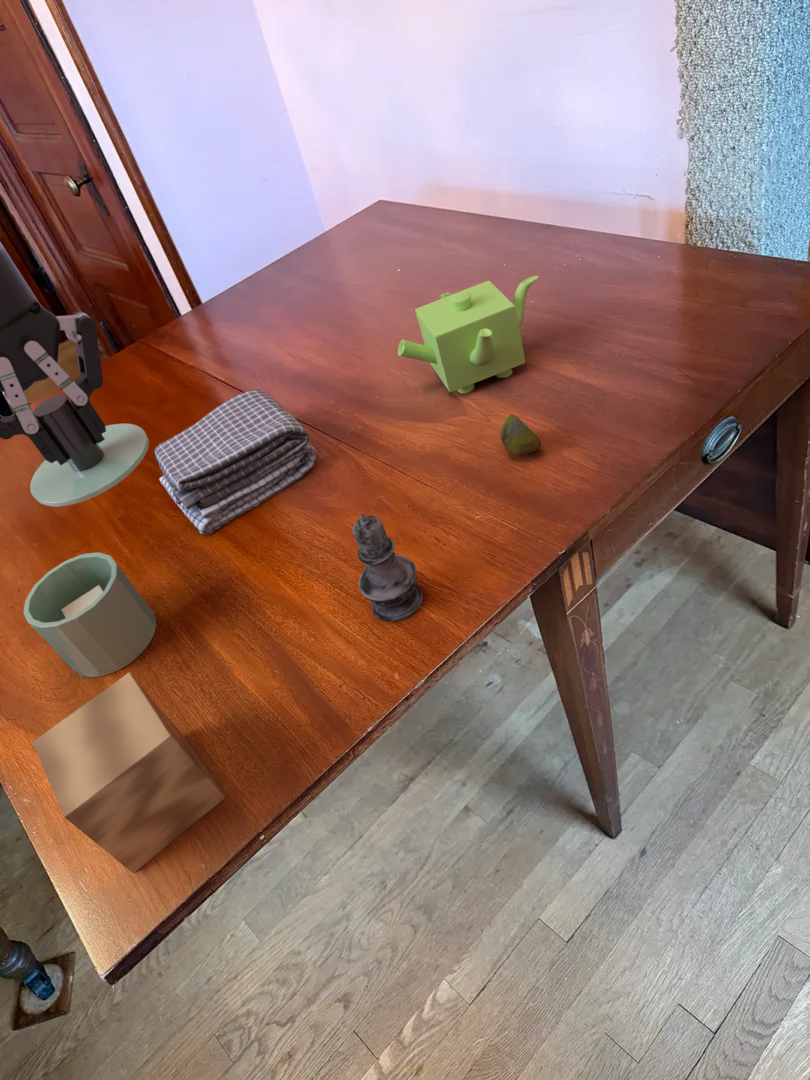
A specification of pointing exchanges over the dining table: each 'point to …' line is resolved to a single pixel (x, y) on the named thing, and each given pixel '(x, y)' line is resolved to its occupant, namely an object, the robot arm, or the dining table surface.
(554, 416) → the dining table surface
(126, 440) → the lid
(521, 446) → the olive green rock
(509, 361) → the kettle
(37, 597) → the pot
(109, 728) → the stand
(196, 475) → the towel
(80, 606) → the block
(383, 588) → the chess piece
